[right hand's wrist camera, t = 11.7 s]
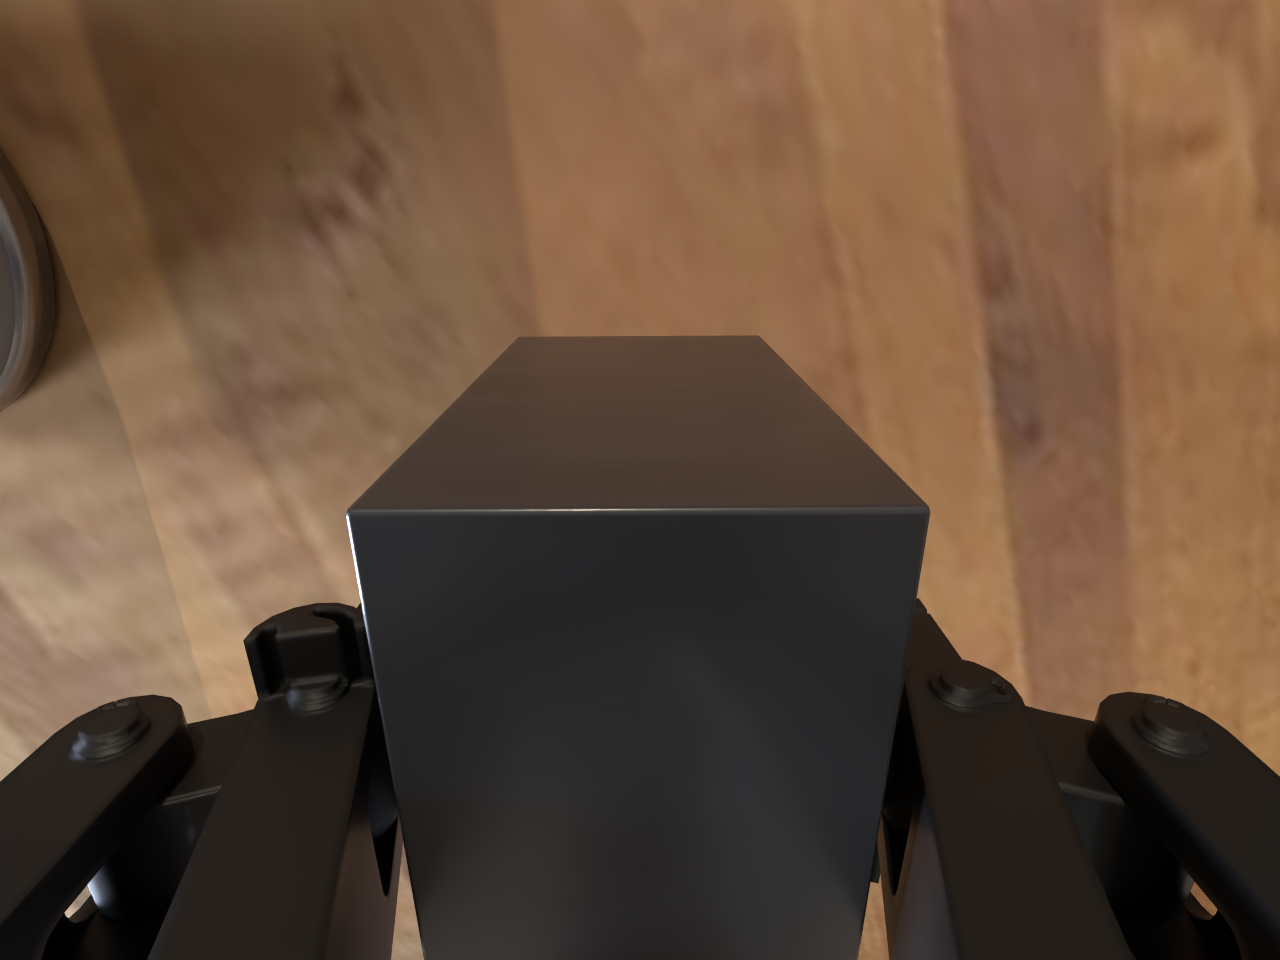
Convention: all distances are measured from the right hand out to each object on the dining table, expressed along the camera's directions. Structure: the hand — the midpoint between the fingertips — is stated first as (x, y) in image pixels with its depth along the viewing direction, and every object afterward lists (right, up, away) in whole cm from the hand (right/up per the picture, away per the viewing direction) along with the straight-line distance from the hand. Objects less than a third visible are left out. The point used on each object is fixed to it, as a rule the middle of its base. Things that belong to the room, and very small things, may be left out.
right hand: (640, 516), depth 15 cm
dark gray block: (0, -11, +3) cm, 11 cm away
